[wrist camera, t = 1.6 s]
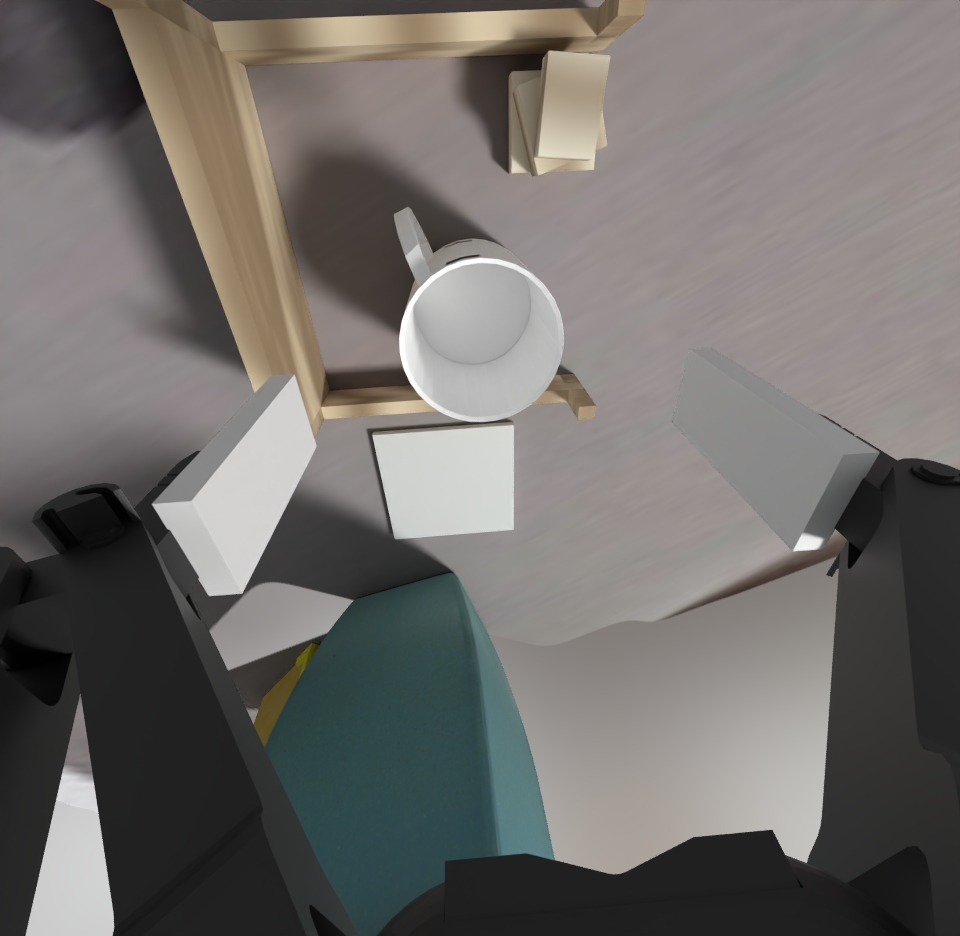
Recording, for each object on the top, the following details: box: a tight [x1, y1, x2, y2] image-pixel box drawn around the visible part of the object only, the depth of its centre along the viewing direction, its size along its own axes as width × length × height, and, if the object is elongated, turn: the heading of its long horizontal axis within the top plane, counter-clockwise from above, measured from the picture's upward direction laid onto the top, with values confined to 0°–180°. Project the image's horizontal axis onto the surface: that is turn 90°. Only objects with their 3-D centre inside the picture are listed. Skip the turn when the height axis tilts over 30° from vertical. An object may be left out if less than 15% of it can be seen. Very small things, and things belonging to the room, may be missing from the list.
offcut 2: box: [509, 70, 595, 174], centre depth 25 cm, size 5×4×2 cm
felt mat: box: [372, 422, 514, 539], centre depth 39 cm, size 12×12×1 cm
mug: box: [394, 207, 564, 422], centre depth 26 cm, size 12×9×9 cm
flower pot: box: [264, 573, 555, 936], centre depth 38 cm, size 20×20×28 cm
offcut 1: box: [513, 51, 607, 176], centre depth 23 cm, size 4×4×2 cm
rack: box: [96, 0, 646, 438], centre depth 23 cm, size 21×21×12 cm
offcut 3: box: [533, 51, 610, 161], centre depth 22 cm, size 4×3×2 cm
